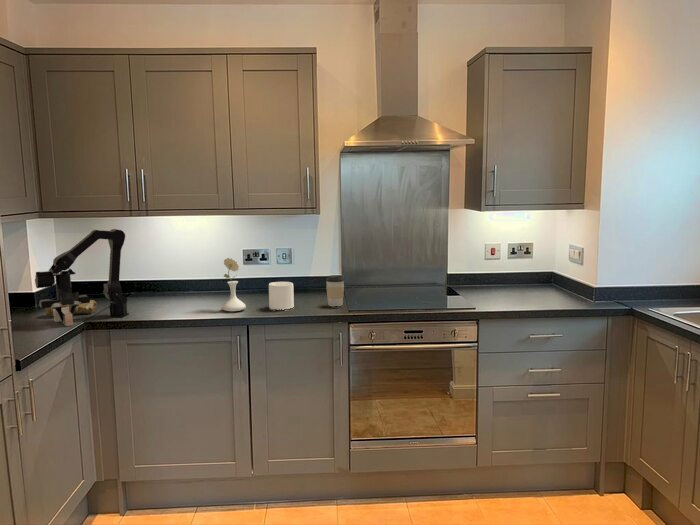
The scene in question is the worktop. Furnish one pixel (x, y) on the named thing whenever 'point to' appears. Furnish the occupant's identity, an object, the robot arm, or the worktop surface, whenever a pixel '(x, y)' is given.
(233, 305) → the flower in vase
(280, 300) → the cup
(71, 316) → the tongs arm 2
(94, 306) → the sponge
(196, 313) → the worktop surface
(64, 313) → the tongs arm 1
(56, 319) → the tongs pivot
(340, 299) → the coffee cup
